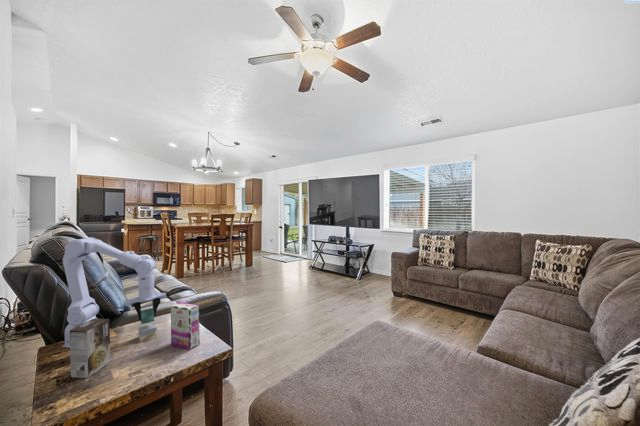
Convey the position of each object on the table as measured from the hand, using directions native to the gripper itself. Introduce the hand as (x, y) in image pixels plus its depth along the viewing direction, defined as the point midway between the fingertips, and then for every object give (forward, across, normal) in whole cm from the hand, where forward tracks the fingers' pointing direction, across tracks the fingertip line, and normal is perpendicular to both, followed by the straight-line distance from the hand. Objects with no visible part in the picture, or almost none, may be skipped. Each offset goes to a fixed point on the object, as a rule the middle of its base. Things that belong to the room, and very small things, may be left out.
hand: (147, 317), depth 112 cm
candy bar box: (+9, +11, -18) cm, 23 cm away
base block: (+9, 0, 0) cm, 9 cm away
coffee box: (+9, -18, -13) cm, 24 cm away
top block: (+7, 0, 0) cm, 7 cm away
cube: (+1, 0, 0) cm, 1 cm away
